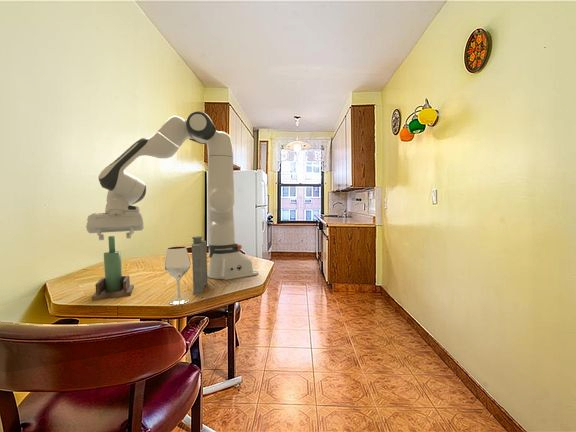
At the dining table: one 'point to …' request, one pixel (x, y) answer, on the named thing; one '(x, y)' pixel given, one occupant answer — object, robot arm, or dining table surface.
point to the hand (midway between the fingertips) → (115, 238)
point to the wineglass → (177, 268)
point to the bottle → (113, 267)
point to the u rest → (103, 294)
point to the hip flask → (199, 264)
